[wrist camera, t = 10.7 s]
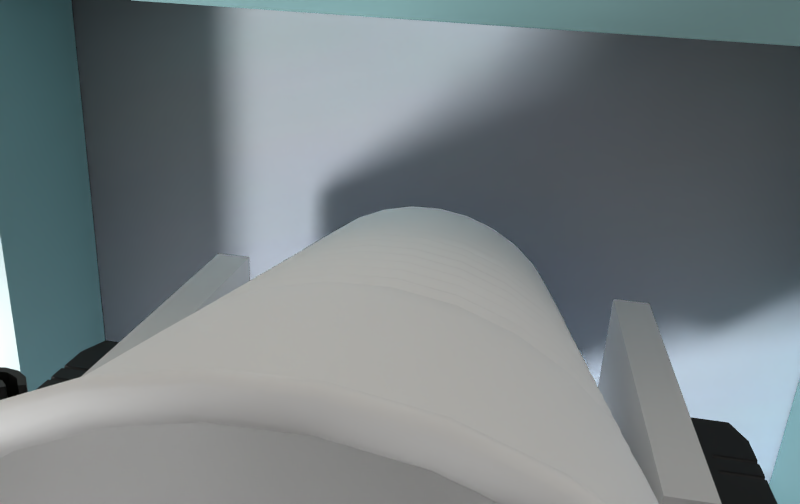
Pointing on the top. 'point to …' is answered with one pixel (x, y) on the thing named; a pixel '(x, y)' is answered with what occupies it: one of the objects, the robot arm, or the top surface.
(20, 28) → the walled box
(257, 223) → the top surface
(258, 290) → the cup
